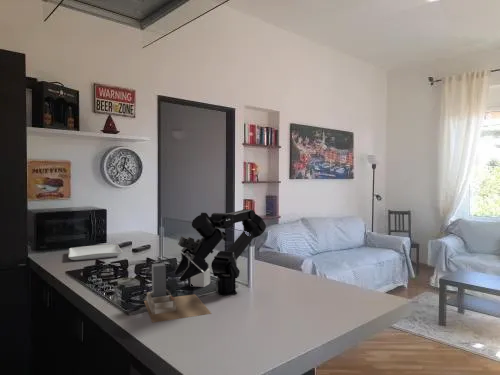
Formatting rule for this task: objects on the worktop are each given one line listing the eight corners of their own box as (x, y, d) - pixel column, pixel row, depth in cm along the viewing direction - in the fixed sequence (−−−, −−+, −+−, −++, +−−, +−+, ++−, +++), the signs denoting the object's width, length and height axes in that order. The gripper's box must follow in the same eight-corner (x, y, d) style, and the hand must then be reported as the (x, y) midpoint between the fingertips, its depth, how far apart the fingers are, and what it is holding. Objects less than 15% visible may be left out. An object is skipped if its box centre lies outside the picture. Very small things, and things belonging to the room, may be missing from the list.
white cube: (204, 287, 146) (204, 272, 146) (190, 286, 148) (190, 271, 147) (210, 283, 152) (210, 268, 151) (197, 282, 153) (196, 267, 153)
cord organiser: (195, 296, 133) (195, 285, 133) (211, 316, 114) (211, 302, 114) (143, 303, 126) (143, 291, 126) (152, 325, 107) (152, 311, 107)
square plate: (69, 253, 217) (69, 247, 217) (118, 249, 229) (117, 243, 229) (68, 263, 193) (68, 255, 193) (122, 258, 204) (122, 251, 204)
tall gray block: (164, 300, 127) (163, 263, 126) (166, 304, 123) (165, 265, 123) (152, 302, 125) (151, 264, 125) (153, 305, 121) (153, 266, 121)
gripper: (186, 225, 137) (156, 257, 133) (198, 231, 119) (164, 268, 116) (207, 244, 140) (178, 276, 136) (221, 253, 123) (189, 290, 119)
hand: (177, 277), depth 127 cm, fingers open, 9 cm apart
